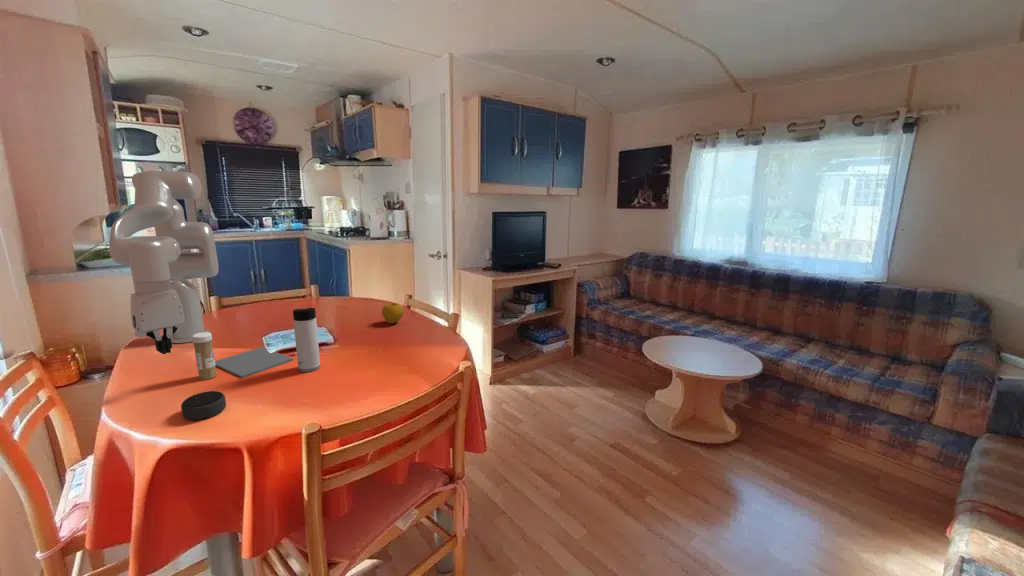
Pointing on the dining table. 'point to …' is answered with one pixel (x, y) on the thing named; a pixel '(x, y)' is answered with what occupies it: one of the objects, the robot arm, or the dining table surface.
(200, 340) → the sprinkles bottle
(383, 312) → the apple
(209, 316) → the dining table surface
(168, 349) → the robot arm
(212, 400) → the smart speaker
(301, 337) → the travel mug
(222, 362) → the rubber mat
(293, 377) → the dining table surface
